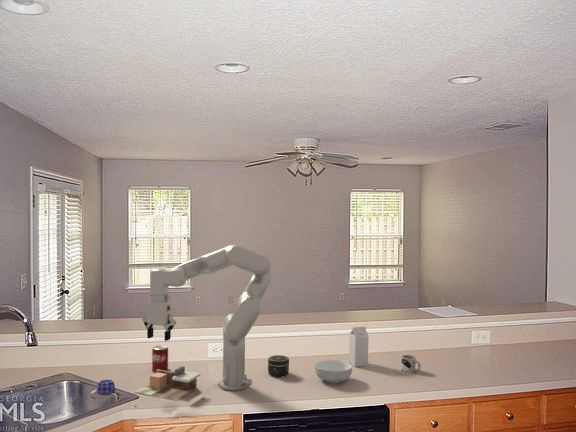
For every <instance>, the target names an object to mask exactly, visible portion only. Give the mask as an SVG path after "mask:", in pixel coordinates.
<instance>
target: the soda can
mask: <svg viewBox="0 0 576 432" xmlns="http://www.w3.org/2000/svg"><path fill="white" fill-rule="evenodd" d="M151 352H152V354H151V371H152V372H154V373H156V370H157V369H160V370H166V371H169V347H168V346H167V345H156V346H153V348H152V350H151Z"/></svg>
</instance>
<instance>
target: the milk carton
mask: <svg viewBox="0 0 576 432" xmlns="http://www.w3.org/2000/svg"><path fill="white" fill-rule="evenodd" d="M367 331H368V330H367V329H366V326H354V327H352V329H351V331H350V332H349V344H348V345H349V347H348V349H349V350H348V356H349V357H348V363H349V364H350V363H351V365H352V367H354V366H355V367H354V368H359V367H358V366H360V367H368V366H369V335H368V332H367Z"/></svg>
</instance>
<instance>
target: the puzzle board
mask: <svg viewBox="0 0 576 432" xmlns="http://www.w3.org/2000/svg"><path fill="white" fill-rule="evenodd" d="M157 372H158V373H164V374H167V386H165V387H163V388H161V389H160V390H159V389H154V388H150V383H149V384H148V385H146V386H143V387H142V388H140V389H138V390H136V391H134V392H133V393H135V394H139V395H145V396H150V397H154V398H159V399H165V400H169V401H175V402H177V401H179V400H182V398H184V397H186V396H187V395H188V394H191V393H192V392H193V391H195V390H197V389H198V388H197V385H198V383H197V382H198V380H197V379H198V377H197V378H196V379H194V380H192V381H190V382H189V383H188V382H182V381H176V380H172V377H173V376H175V371H171V370H167V371H166V370H160V369H157V370H156V372H155V373H157Z"/></svg>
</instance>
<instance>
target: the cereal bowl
mask: <svg viewBox="0 0 576 432" xmlns="http://www.w3.org/2000/svg"><path fill="white" fill-rule="evenodd" d="M352 371H353V365H352V364H350V363H349V362H347V361H343V360H337V359H336V360H335V359H327V360H320V361H318V362H316V363H315V364H314V372H315V374H316V376H317V377H318V378H319V379H321V380H323V381H325V382H326V383H328V382H329V383H328V384H339V383H342V382H343V381H346V380H347V379H349V378H350V377H351V375H352V373H353V372H352Z"/></svg>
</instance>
